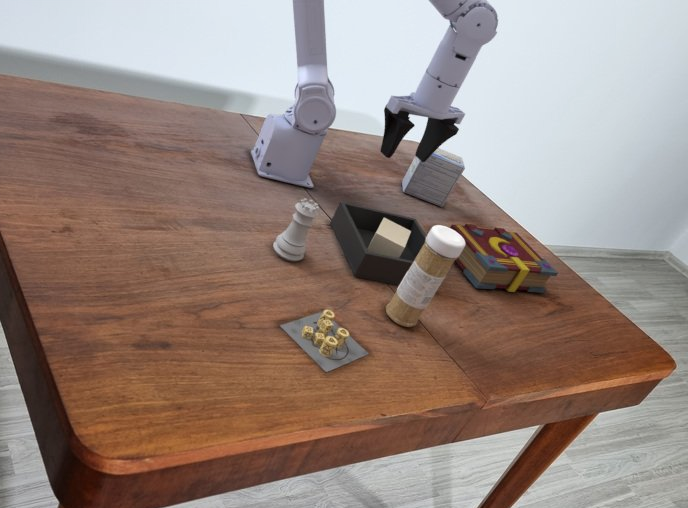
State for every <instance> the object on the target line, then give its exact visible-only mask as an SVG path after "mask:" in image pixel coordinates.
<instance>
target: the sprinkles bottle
mask: <svg viewBox="0 0 688 508" xmlns="http://www.w3.org/2000/svg"><path fill="white" fill-rule="evenodd" d="M426 236H427V237H426V240H425V243H424V245H423V246H422V248H421V250H420V252H419V253H418V255H417V256H416V259H415V260H414V262H413V263H412V265H411V267H410V268H409V270H408V271H407V273H406V274H405V276H404V278H403V280H402V281H401V283H400V285H398V286H397V288H396V291H395V293H394V294H393V296H392V298H391V299H390V301H389V303H387V305H386V307H385V312H386V314H387V316H388V317H389V319H390V320H392V322H394V323H395V324H397V325H399V326H401V327H406V328H413V327H415V326H416V325H417V324H418V322H419V319H420V318H421V316H422V314H423V313H424V311H425V309H426V308H427V307H428V306H429V304H430V303H431V301H432V299H433V297H434V296H435V295H436V293H437V292H438V290H439V288H440V287H441V285H442V283H443V281H444V280H445V278H446V277H447V274H448V272H449V271H450V269H451V267H452V265H454V263H455V260H456V259H457V257H459V255H460V254H461V252H462V250H463V249H464V247H465V240H464V239H463V237H462V236H461V235H460V234H459V233H457V232H456V231H454V230H453V229H451V228H450V227H449V226H446V225H442V224H435V225H433V226H432V227H431V228H430V230H429V231H428V233H427V235H426Z"/></svg>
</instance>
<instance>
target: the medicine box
mask: <svg viewBox="0 0 688 508" xmlns="http://www.w3.org/2000/svg"><path fill="white" fill-rule="evenodd" d="M465 169H466V167H465V163H464V160H463V158H462V156H459V155H456V154H454V153H452V152H449V151H447V150H445V149H442V148H440V147H438V148H437V149H436V150H435V151H434V153H433V154H432V155H431V156H430V157H429V158H428V159H427V160H426V161H425V162H422V161H421V160H419V159H418V158H417V157H416V156H415V155H414V158H413V160H412V161H411V164H410V166H409V167H408V169H407V171H406V173H405V175H404V177H403V179H402V182H401V185H402V187H401V188H402V193H404V194H407V195H410V196H412V197H415V198H417V199H420V200H423V201H426V202H428V203H430V204H433V205H436V206H438V207H441V208H443V207H444V206H445V204H446V202H447V200H448V198H449V196H450V195H451V194H452V192H453V189H454V188H455V187H456V185H457V183H458V181H459V179H460V178H461V176H462V174H463V172H464V171H465Z"/></svg>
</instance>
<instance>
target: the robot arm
mask: <svg viewBox="0 0 688 508" xmlns="http://www.w3.org/2000/svg"><path fill="white" fill-rule="evenodd" d="M428 1H429V3H430V4H431V5H432V6H433V7H434V8H435V10H436V11H437V12H438V13H439V14H440V15H441V16H442V18H443V19H444V20H448V22H449V25H448V27H447V29H446V31H445V32H444V33H445V34H444V35H443V37H442V39H441V40H440V42H439V44H438V46H437V48H436V50H435V52H434V54H433V56H432V58H431V60H430V62H429V64H428V66H427V68H426V70H425V72H424V74H423V76H422V78H421V80H420V82H419V84H418V85H417V87H416V90H415V91H411V92H410V95H391V96H390V97H389V99H388V102H387V103H386V105H385V106H384V110H383V112H384V130H383V136H382V142H381V146H380V153H381V154H382V155H383V156H384V157H385V158H387V159H391V158H392V157H393V155H394V154H395V152H396V151H397V149H398V147H399V145H400V143H401V142H402V141H403V139H404V138H405V137H406V136H407V134H408V133H409V132H410V131H411V130H412V129H413V128H414V127H415V124H414V123H413V122H412V121H411V120H410V118H411V117H410V116H411V115H412V116H417V117H418V116H419V117H424V118H427V121H426V126H425V129H424V132H423V135H422V138H421V139H420V142H419V143H418V146H417V148H416V151H415V153H414V157H415V156H416V157H417V158H418V159H419V160H421V161H422V162H425V161H426V160H427V159H428V158H429V157H430V156H431V155H432V154H433V153H434V151H435V150H436V149H437V148H440V147H441V146H442V145H443V144H445V143H446V142H447V141H448V140H449V139H451V138H453V137H454V136H455V135H457V134H458V132H459V130H460V128H459V127H458V126H457V125H461V124H462V122H463V120H464V117H465V116H466V112H464V111H463V110H462V109H461V108H460V107H456V106H453V102H454V101H455V98H456V96H457V95H458V92H459V91H460V89H461V87H462V86H463V84H464V82H465V80H466V78H467V76H468V74H469V73H470V70H471V69H472V67H473V65H474V64H475V61H476V59H477V57H478V55H479V54H480V53H479V52H480V51H481V50H482V47H483V46H484V45H487V44H489V43H490V42H491V41H492V40H493V39H494V38H495V37H496V36H497V34H498V31H497V28H498V24H499V16H498V13H497V11H496V9H495V7H493V5H491V3H490V2H489V1H488V0H428ZM292 10H293V11H292V12H293V13H292V14H293V24H294V27H293V28H294V38H295V53H296V66H297V82H296V85H295V88H294V104H292V105H291V106H290V107H288V108H287V109H285V112H284V113H281V114H276V113H269V114H268V115H267V116H266V118H265V119H264V121H263V123H262V126H261V129H260V131H259V135H258V136H257V139H256V142H255V144H254V147H253V149H251V150H250V154H251V157H252V160H253V163H254V166H255V169H256V172H257V174H258V176H259V177H262V178H267V179H270V180H275V181H279V182H283V183H286V184H287V183H288V184H292V185H296V186H300V187H304V188H309V189H313V188H314V187H315V185H314V184H313V181H312V179H311V176H310V172H311V170H312V167H313V165H314V163H315V160H316V159H317V157H318V154H319V151H320V149H321V147H322V145H323V143H324V140H325V138H326V136H327V133H328V132H329V128H330V127H332V125H333V123H334V122H335V120H336V117H337V108H336V104H335V88H334V85H333V82H332V81H331V79H330V78H329V75H328V74H329V73H328V55H327V54H328V53H327V34H326V17H325V15H326V14H325V0H292ZM455 124H456V125H455Z"/></svg>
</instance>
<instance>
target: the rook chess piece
mask: <svg viewBox="0 0 688 508" xmlns="http://www.w3.org/2000/svg"><path fill="white" fill-rule="evenodd" d="M313 202H314V200H312V199H309V201H308V198H306V197H303V198H301V199H300V201H299V202H297V203H295V205H294V207H295V213H293V214H292V221H291V222H290V223H289V225H288V226H287V228H286V229H285V230H284V231H282V233H280V234H278V236H276V238H275V241H274V242H273V244H272V246H273V249H274V252H275V254H276V255H277V256H278V257H279V258H281V259H283V260H285V261H288V262H292V263H293V262H299V261H301V260H303V259H304V257H305V254H306V251H307V245H306V244H307V241H306V239H307V234H308V231H309V228H310V227H311V226H312V225H313V223H314V222H313V219H315V218H317V217H319V215H320V214H319V207H320V206H319V204H318V203H317V202H314V203H313Z"/></svg>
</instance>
